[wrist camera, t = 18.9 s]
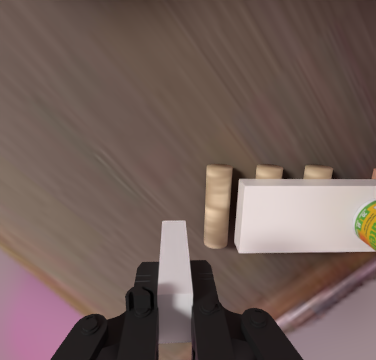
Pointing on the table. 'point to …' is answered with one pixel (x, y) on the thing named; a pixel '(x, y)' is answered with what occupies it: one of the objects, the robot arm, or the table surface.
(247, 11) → the table surface
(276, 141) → the table surface
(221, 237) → the roller bed
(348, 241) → the slab
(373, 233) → the supplement bottle
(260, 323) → the robot arm
